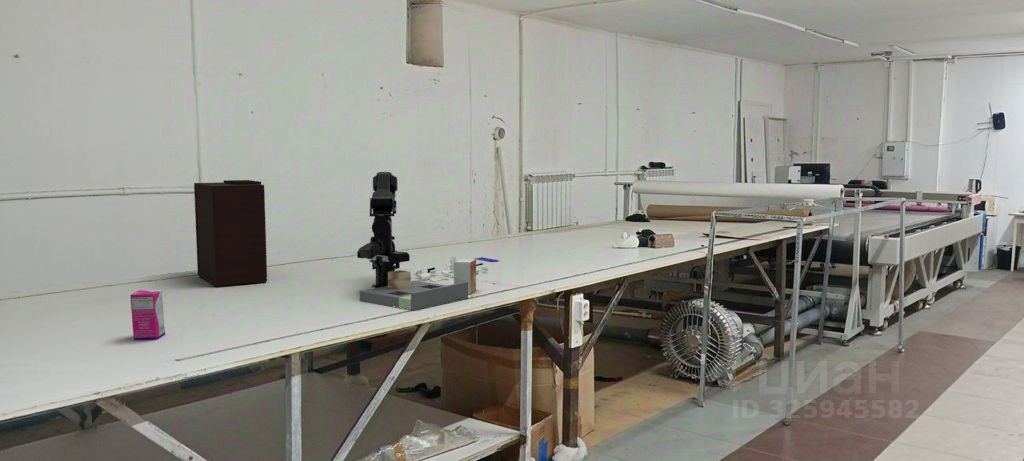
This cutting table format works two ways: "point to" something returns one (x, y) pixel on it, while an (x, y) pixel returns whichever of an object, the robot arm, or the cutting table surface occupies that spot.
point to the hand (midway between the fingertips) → (383, 281)
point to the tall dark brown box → (231, 232)
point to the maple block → (399, 279)
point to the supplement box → (147, 314)
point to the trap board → (416, 295)
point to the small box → (466, 273)
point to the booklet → (486, 259)
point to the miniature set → (427, 276)
